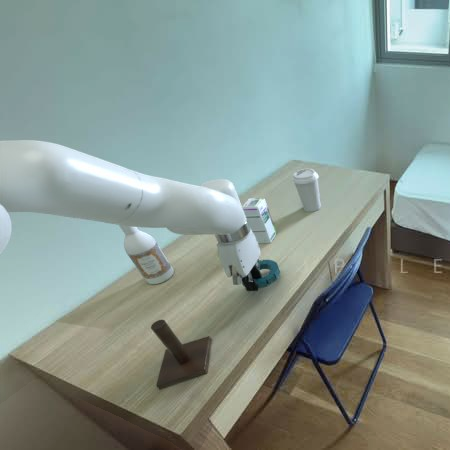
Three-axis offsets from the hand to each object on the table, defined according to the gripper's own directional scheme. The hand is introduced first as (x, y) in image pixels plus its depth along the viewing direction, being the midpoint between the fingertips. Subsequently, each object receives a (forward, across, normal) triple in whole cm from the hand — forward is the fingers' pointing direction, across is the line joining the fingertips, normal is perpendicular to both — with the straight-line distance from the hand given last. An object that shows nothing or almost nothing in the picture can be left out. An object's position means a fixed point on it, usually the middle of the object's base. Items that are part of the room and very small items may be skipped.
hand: (255, 285), depth 83 cm
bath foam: (+3, -6, -33) cm, 33 cm away
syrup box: (+3, -25, -8) cm, 26 cm away
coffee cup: (+2, -45, +2) cm, 45 cm away
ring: (0, -4, 0) cm, 4 cm away
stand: (+3, +21, -7) cm, 22 cm away
